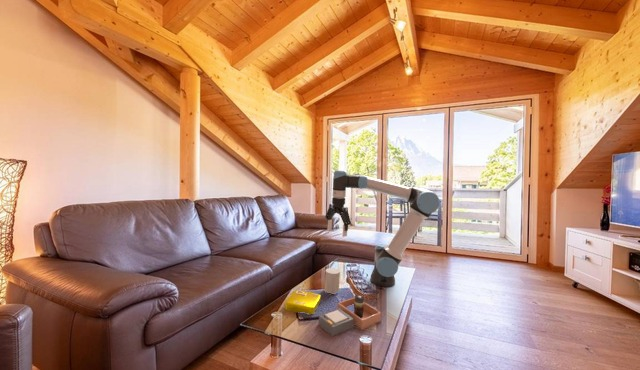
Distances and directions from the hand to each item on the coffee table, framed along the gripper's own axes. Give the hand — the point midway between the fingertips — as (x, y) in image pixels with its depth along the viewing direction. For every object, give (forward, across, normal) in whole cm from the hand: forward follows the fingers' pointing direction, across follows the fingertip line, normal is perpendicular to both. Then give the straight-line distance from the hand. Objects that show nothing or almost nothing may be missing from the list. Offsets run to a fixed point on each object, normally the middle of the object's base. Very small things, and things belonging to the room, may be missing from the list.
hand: (336, 233), depth 163 cm
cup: (+32, +5, -6) cm, 33 cm away
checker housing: (+32, +32, -25) cm, 51 cm away
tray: (+32, +32, -11) cm, 46 cm away
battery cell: (+31, +32, -12) cm, 46 cm away
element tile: (+32, +9, -28) cm, 44 cm away
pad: (+30, +32, -25) cm, 50 cm away
